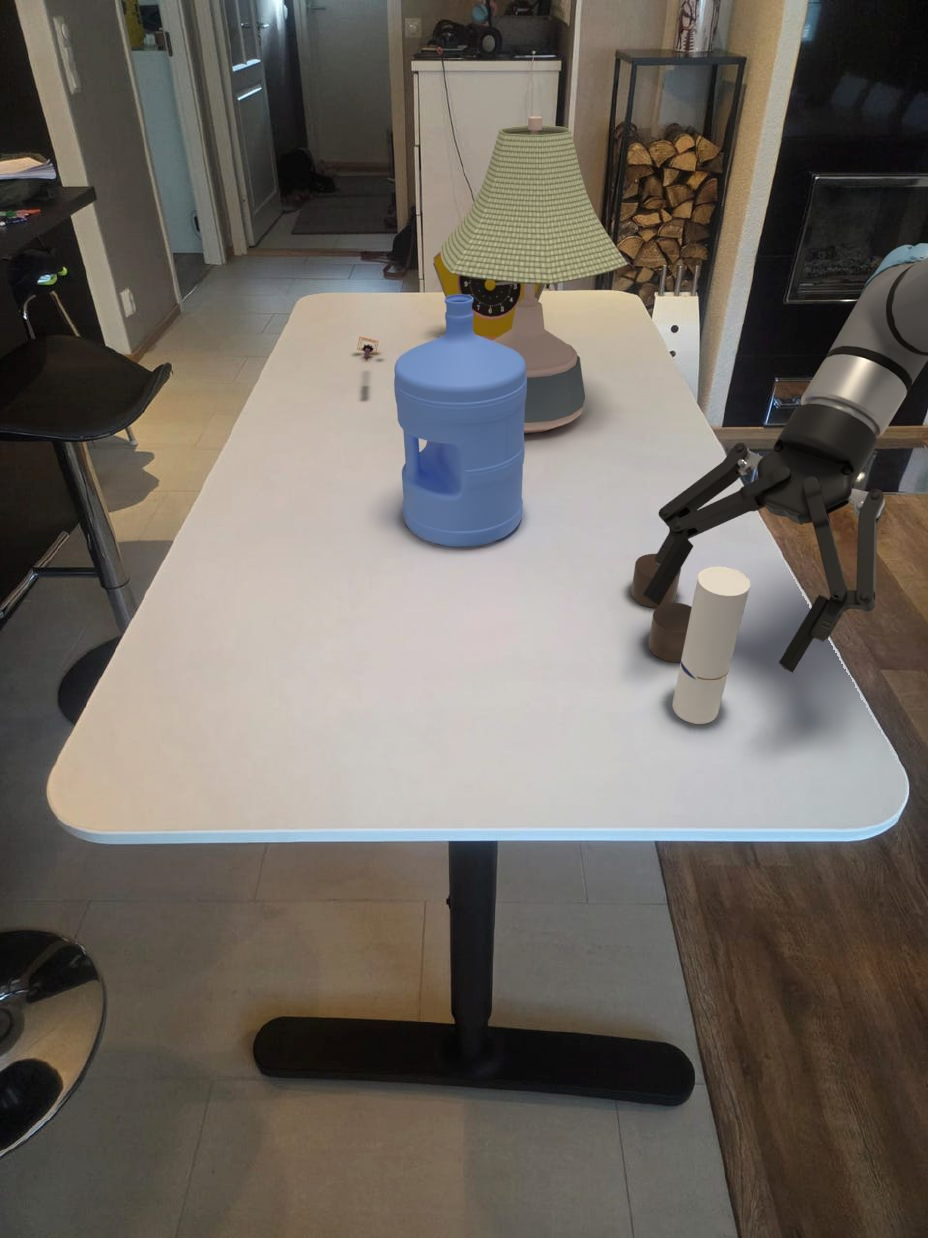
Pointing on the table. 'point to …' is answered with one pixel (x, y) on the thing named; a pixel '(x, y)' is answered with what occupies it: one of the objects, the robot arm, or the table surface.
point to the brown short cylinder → (643, 577)
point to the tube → (710, 643)
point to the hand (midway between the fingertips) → (714, 632)
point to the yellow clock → (485, 299)
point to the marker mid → (669, 631)
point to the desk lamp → (535, 254)
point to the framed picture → (367, 347)
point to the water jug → (462, 433)
